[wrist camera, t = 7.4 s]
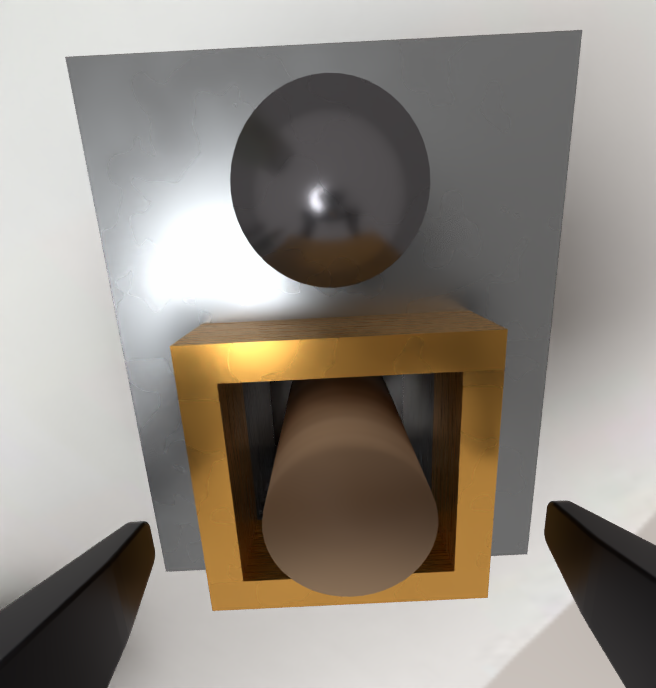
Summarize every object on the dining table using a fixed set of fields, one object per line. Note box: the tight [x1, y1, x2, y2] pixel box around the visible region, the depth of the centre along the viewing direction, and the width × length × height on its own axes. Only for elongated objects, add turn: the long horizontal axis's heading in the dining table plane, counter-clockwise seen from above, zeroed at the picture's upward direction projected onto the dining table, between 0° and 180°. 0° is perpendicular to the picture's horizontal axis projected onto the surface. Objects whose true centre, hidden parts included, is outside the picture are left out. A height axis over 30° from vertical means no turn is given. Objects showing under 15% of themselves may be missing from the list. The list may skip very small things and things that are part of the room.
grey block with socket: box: [65, 30, 582, 611], centre depth 13 cm, size 16×13×8 cm
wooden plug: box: [262, 376, 438, 597], centre depth 13 cm, size 4×4×9 cm
